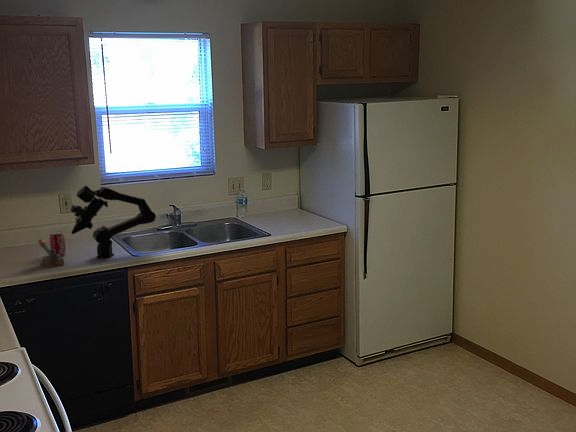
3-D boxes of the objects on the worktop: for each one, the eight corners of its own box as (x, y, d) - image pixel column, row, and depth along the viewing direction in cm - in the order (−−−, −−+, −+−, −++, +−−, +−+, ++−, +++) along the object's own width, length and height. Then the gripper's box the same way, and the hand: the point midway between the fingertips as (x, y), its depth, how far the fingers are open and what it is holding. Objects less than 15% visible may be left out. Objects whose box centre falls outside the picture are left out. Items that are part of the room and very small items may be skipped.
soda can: (67, 253, 327) (65, 230, 324) (63, 257, 320) (61, 234, 317) (53, 254, 327) (51, 231, 324) (49, 257, 320) (47, 234, 317)
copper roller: (53, 253, 311) (41, 238, 307) (55, 256, 306) (43, 240, 302) (49, 256, 311) (36, 241, 307) (51, 259, 306) (38, 243, 302)
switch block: (60, 259, 316) (59, 248, 314) (64, 264, 307) (63, 252, 306) (43, 262, 312) (42, 250, 311) (46, 267, 303) (45, 255, 302)
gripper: (76, 195, 318) (55, 219, 316) (83, 202, 302) (61, 228, 300) (94, 208, 323) (74, 233, 321) (101, 216, 307) (80, 241, 305)
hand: (72, 233), depth 312 cm, fingers closed
